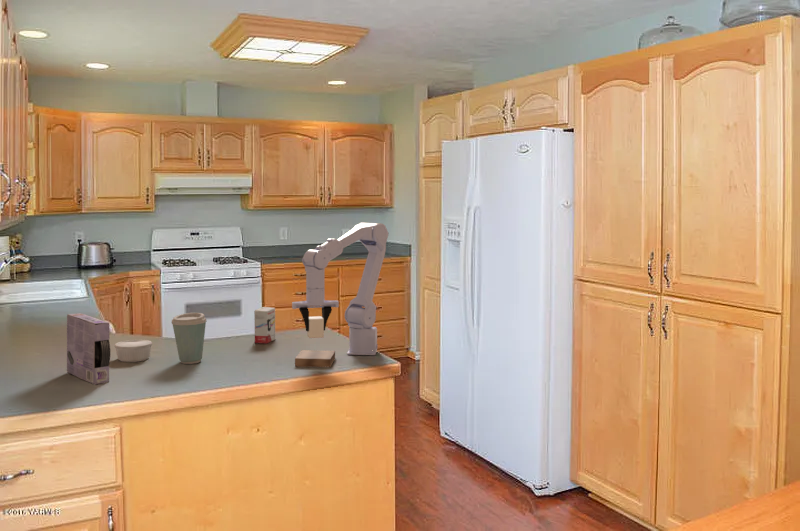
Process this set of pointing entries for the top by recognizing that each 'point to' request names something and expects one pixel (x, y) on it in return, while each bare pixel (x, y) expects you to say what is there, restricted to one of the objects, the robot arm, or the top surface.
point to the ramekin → (133, 350)
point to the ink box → (264, 325)
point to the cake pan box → (88, 348)
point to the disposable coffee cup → (189, 336)
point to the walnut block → (315, 358)
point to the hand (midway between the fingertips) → (315, 330)
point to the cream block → (316, 327)
